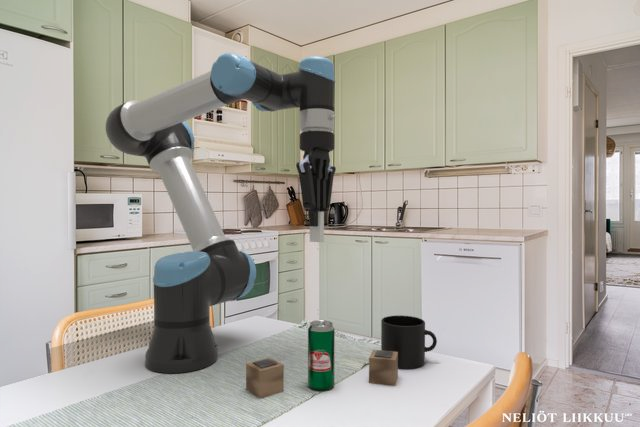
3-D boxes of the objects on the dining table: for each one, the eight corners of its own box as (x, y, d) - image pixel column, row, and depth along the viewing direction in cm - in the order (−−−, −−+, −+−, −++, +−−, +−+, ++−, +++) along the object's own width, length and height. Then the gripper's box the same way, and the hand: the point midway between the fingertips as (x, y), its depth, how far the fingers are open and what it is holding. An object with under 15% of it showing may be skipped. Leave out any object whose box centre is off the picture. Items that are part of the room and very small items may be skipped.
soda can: (304, 390, 81) (305, 325, 81) (311, 379, 86) (311, 318, 86) (331, 392, 80) (331, 327, 80) (336, 382, 85) (336, 320, 85)
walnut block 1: (246, 390, 81) (246, 362, 81) (268, 383, 84) (268, 356, 84) (260, 399, 77) (260, 370, 77) (283, 391, 81) (283, 363, 81)
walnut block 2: (368, 383, 84) (369, 356, 84) (372, 373, 89) (373, 348, 89) (395, 386, 83) (395, 359, 83) (397, 376, 88) (397, 350, 88)
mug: (440, 371, 91) (440, 327, 91) (381, 368, 92) (382, 325, 92) (433, 355, 100) (433, 316, 100) (380, 353, 101) (380, 314, 101)
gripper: (316, 125, 87) (316, 244, 87) (346, 135, 98) (346, 240, 98) (285, 129, 90) (285, 243, 91) (317, 137, 102) (317, 239, 102)
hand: (316, 241), depth 95 cm, fingers closed
